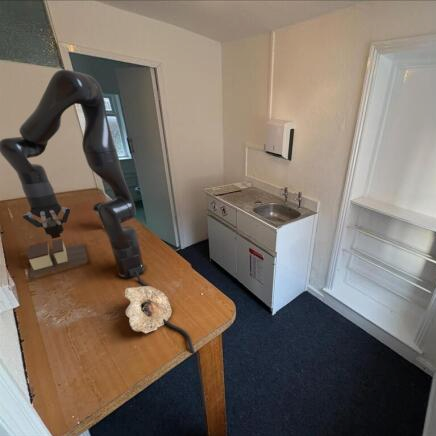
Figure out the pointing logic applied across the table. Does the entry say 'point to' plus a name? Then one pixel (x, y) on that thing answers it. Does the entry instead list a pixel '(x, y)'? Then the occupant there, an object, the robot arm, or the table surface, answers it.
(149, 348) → the table surface
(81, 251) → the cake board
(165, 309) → the seashell
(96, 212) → the coffee cup
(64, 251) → the cake slice
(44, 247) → the cake
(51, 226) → the knife
